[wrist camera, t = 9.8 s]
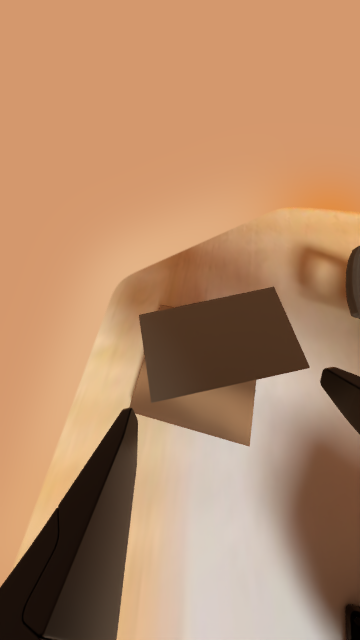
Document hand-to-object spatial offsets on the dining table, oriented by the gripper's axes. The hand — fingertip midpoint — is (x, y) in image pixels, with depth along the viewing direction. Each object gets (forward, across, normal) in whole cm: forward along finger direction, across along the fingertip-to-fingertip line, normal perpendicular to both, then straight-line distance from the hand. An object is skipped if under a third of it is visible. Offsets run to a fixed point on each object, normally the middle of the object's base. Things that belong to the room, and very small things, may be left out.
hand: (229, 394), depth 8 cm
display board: (+10, 0, +7) cm, 12 cm away
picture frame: (+9, 0, +6) cm, 11 cm away
